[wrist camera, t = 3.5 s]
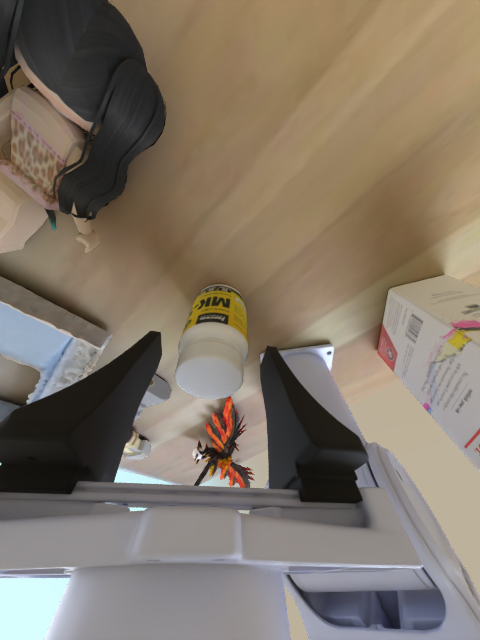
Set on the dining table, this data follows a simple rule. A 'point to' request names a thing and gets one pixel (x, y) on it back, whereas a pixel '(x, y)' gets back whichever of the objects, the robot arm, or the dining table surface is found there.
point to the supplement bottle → (213, 344)
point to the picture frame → (46, 341)
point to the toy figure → (70, 113)
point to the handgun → (153, 395)
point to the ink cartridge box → (438, 353)
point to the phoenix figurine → (223, 448)
